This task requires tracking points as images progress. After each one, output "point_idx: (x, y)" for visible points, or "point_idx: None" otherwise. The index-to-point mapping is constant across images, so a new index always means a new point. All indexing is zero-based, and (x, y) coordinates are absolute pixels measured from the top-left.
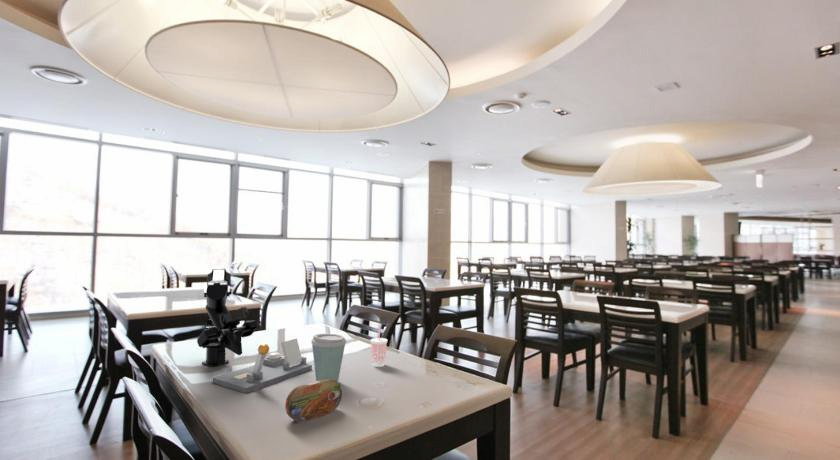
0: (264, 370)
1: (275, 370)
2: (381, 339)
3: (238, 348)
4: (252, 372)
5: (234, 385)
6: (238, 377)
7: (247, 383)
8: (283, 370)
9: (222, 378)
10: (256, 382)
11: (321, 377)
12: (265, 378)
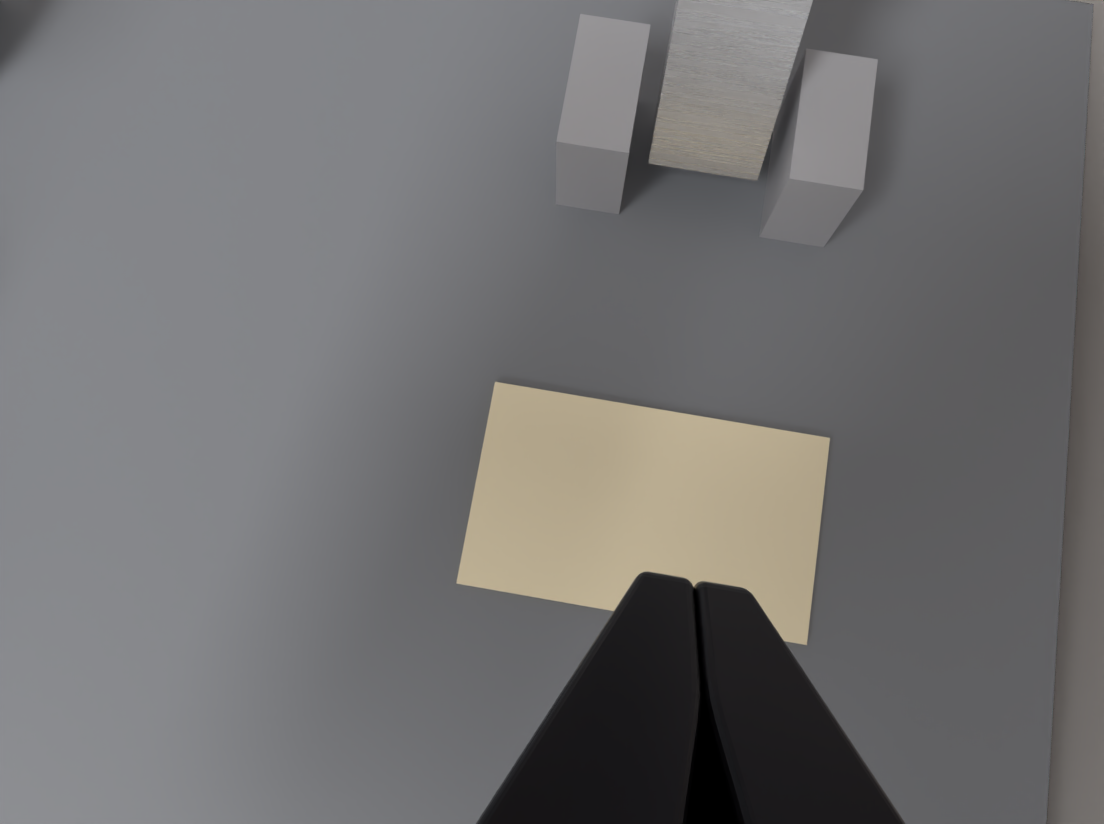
0: (176, 366)
1: (102, 167)
2: None
3: (758, 735)
4: (782, 98)
5: (1064, 310)
6: (768, 518)
7: (919, 133)
8: (55, 30)
9: (959, 807)
10: (803, 33)
11: None
12: (568, 33)
